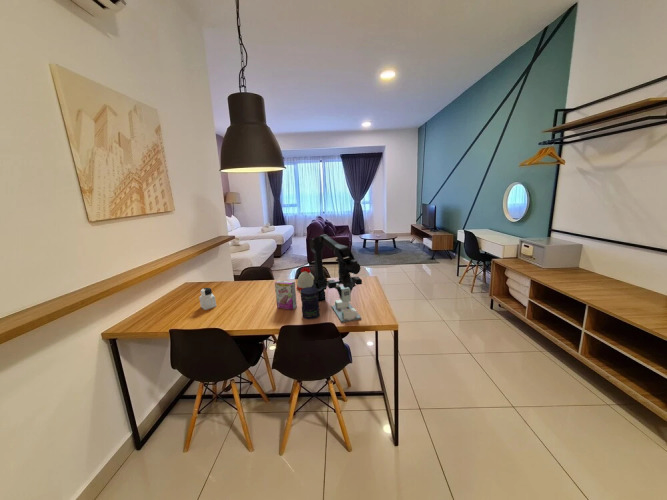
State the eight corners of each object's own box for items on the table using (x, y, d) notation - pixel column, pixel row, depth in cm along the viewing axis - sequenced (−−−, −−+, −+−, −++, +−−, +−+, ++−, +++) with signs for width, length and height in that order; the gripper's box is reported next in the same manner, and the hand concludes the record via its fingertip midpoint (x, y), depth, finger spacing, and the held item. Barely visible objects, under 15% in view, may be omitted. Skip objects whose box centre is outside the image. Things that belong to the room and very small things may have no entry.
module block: (343, 302, 145) (342, 290, 144) (339, 297, 152) (338, 286, 150) (350, 301, 146) (350, 289, 145) (347, 296, 153) (346, 284, 152)
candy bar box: (276, 308, 161) (274, 282, 157) (280, 305, 166) (278, 279, 162) (293, 310, 157) (291, 284, 154) (297, 306, 162) (295, 281, 158)
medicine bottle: (212, 303, 173) (209, 285, 170) (216, 306, 168) (213, 288, 166) (200, 307, 168) (197, 289, 166) (204, 310, 163) (201, 291, 161)
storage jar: (309, 310, 157) (307, 285, 154) (323, 313, 152) (321, 288, 149) (298, 317, 149) (296, 292, 145) (313, 321, 144) (311, 294, 140)
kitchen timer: (310, 291, 186) (308, 270, 183) (293, 289, 192) (291, 268, 188) (319, 284, 198) (318, 265, 195) (303, 282, 204) (302, 263, 201)
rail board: (341, 322, 140) (340, 314, 139) (331, 307, 159) (331, 300, 158) (361, 319, 143) (360, 311, 142) (349, 304, 162) (349, 297, 161)
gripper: (330, 276, 136) (332, 305, 139) (365, 272, 140) (366, 300, 144) (325, 270, 146) (327, 297, 150) (358, 266, 151) (358, 292, 154)
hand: (344, 296), depth 149 cm, fingers closed on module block, 4 cm apart
